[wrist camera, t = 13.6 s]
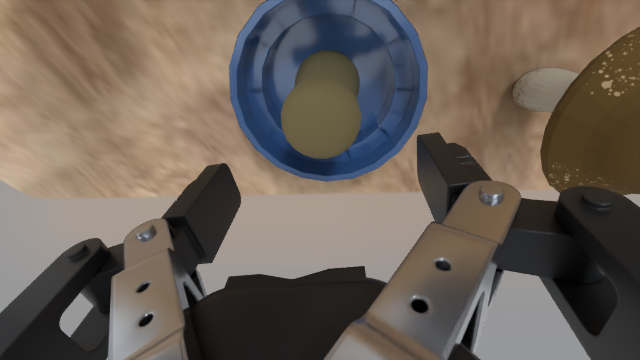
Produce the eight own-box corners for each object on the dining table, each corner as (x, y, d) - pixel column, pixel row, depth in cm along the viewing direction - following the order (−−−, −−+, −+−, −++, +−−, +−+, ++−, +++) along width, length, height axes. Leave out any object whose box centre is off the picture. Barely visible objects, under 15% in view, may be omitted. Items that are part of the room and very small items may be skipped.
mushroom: (625, 12, 22) (1007, 20, 9) (547, 143, 28) (716, 256, 16) (510, -3, 22) (737, -15, 9) (457, 132, 28) (552, 235, 16)
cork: (352, 121, 28) (357, 180, 18) (291, 110, 28) (266, 164, 18) (367, 56, 25) (382, 87, 15) (298, 43, 24) (272, 67, 15)
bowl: (226, 5, 24) (197, 5, 19) (410, -36, 21) (429, -47, 17) (273, 162, 32) (261, 189, 27) (412, 143, 29) (425, 170, 25)
